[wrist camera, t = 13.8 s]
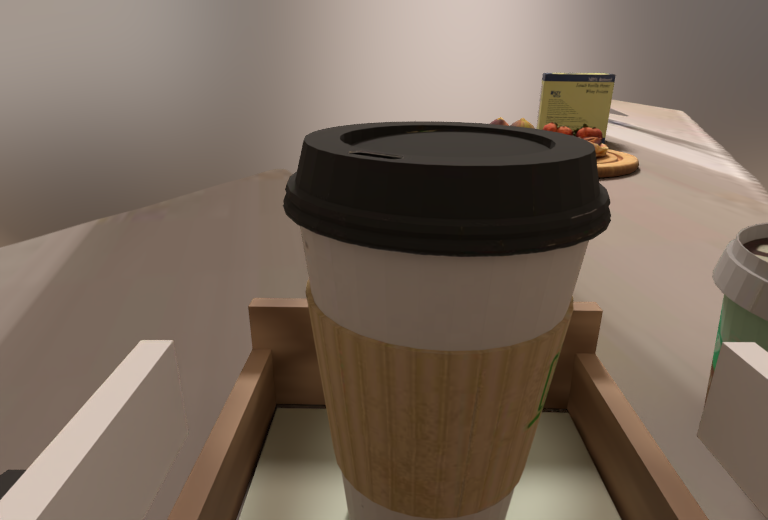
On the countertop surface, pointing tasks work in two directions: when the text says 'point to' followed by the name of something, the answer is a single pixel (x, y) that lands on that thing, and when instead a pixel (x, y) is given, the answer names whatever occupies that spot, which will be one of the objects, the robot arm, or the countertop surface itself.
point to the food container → (743, 290)
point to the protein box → (576, 100)
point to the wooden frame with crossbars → (324, 478)
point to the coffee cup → (440, 302)
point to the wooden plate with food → (607, 159)
